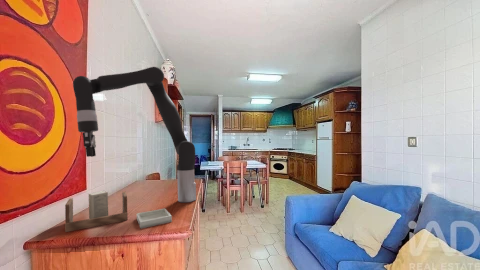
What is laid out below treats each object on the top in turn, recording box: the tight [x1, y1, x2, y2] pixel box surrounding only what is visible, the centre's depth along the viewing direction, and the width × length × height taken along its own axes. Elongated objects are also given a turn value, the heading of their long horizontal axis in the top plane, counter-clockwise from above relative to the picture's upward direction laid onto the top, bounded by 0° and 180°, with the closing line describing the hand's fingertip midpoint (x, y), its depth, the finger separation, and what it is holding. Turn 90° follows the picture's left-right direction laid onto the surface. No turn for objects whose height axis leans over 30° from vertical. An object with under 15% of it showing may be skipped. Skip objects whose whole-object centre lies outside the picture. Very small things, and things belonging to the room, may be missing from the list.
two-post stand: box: [64, 191, 129, 233], centre depth 93 cm, size 21×12×10 cm, turn 122°
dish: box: [136, 208, 173, 230], centre depth 92 cm, size 12×12×2 cm
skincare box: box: [88, 190, 109, 219], centre depth 94 cm, size 6×4×12 cm
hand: (91, 156), depth 99 cm, fingers open, 8 cm apart
